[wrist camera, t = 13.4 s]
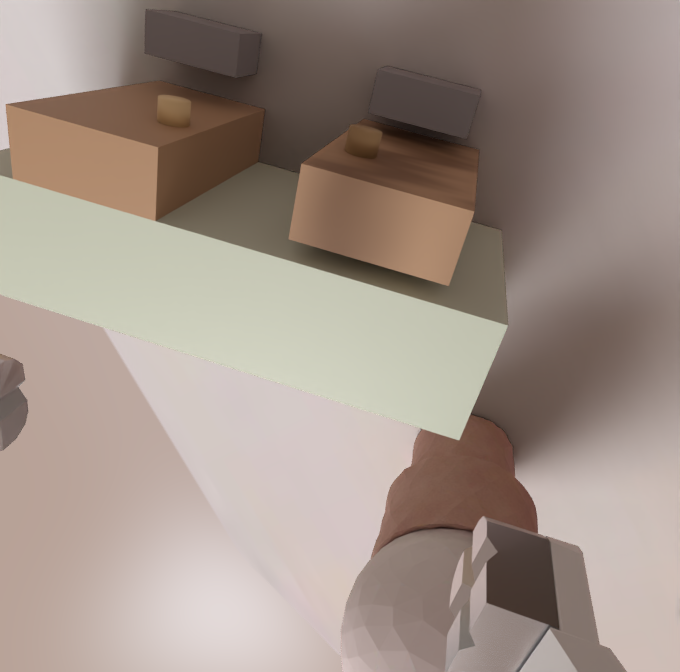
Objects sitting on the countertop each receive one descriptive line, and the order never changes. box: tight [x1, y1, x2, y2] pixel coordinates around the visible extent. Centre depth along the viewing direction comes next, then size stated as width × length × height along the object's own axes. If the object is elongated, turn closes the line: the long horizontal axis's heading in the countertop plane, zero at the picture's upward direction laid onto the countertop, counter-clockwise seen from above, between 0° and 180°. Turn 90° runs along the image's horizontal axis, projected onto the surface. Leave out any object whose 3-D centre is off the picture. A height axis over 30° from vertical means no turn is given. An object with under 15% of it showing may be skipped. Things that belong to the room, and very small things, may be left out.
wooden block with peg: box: [288, 119, 479, 286], centre depth 26 cm, size 6×4×12 cm, turn 78°
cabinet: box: [0, 9, 508, 440], centre depth 28 cm, size 24×13×12 cm, turn 78°
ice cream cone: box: [341, 415, 538, 672], centre depth 31 cm, size 11×11×20 cm
